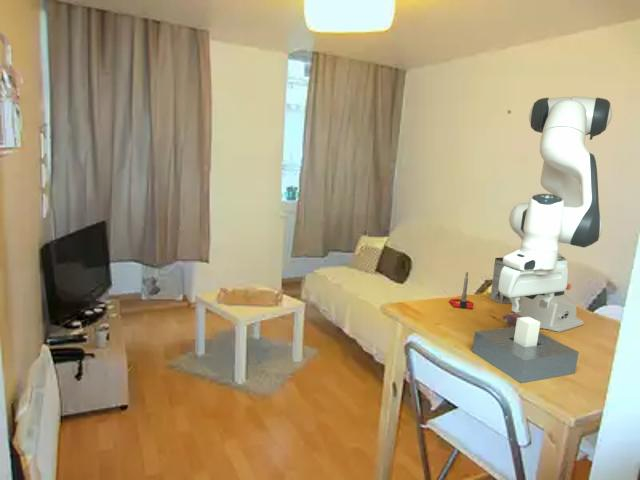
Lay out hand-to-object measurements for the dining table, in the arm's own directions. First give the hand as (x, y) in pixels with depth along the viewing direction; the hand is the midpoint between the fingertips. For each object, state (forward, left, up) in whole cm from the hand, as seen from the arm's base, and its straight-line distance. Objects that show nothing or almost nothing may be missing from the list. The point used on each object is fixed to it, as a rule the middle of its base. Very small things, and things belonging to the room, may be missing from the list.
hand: (530, 309), depth 126 cm
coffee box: (-34, -43, -15) cm, 56 cm away
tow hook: (-14, -43, -15) cm, 47 cm away
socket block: (0, 0, -15) cm, 15 cm away
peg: (0, 0, -15) cm, 15 cm away
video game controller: (-15, -17, -15) cm, 27 cm away
